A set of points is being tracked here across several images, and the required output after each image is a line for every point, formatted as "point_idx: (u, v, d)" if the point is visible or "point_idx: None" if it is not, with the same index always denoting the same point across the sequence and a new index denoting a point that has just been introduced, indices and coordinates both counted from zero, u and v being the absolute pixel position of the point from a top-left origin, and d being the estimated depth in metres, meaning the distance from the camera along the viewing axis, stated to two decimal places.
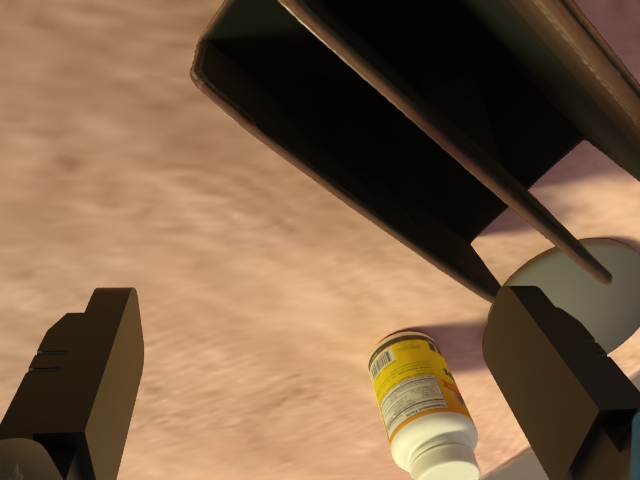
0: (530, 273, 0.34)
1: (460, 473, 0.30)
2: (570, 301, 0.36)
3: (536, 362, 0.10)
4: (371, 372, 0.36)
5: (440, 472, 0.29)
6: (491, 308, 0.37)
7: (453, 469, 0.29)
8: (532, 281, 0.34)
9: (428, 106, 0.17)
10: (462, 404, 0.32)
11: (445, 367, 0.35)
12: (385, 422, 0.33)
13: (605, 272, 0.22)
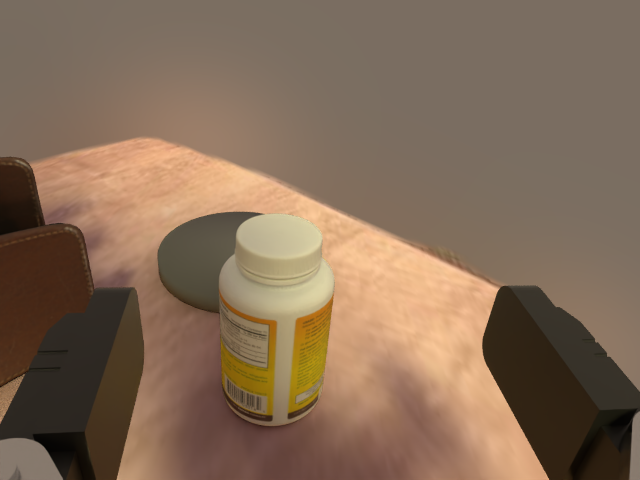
0: (170, 282, 0.34)
1: (265, 225, 0.24)
2: (218, 254, 0.37)
3: (536, 362, 0.10)
4: (261, 408, 0.25)
5: (255, 238, 0.23)
6: (219, 311, 0.33)
7: (253, 229, 0.23)
8: (179, 278, 0.34)
9: None
10: None
11: None
12: (264, 345, 0.23)
13: None
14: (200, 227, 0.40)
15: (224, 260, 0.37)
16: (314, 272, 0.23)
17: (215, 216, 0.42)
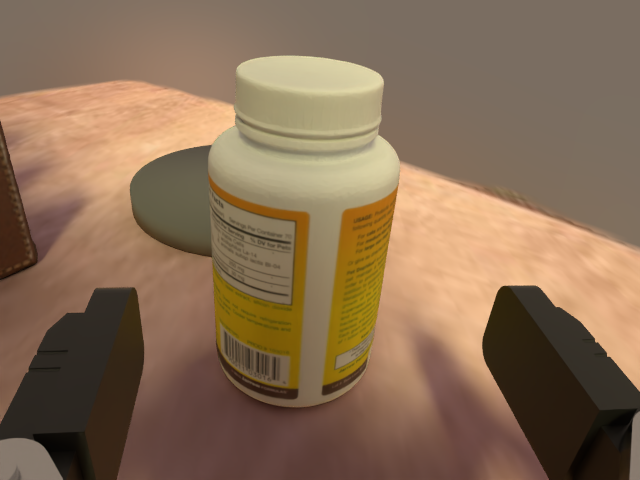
0: (146, 216, 0.25)
1: (285, 64, 0.14)
2: None
3: (536, 362, 0.10)
4: (280, 377, 0.15)
5: (270, 73, 0.13)
6: None
7: (265, 66, 0.14)
8: (157, 211, 0.25)
9: None
10: None
11: None
12: (287, 261, 0.13)
13: None
14: (189, 158, 0.31)
15: None
16: (371, 135, 0.13)
17: (209, 148, 0.32)
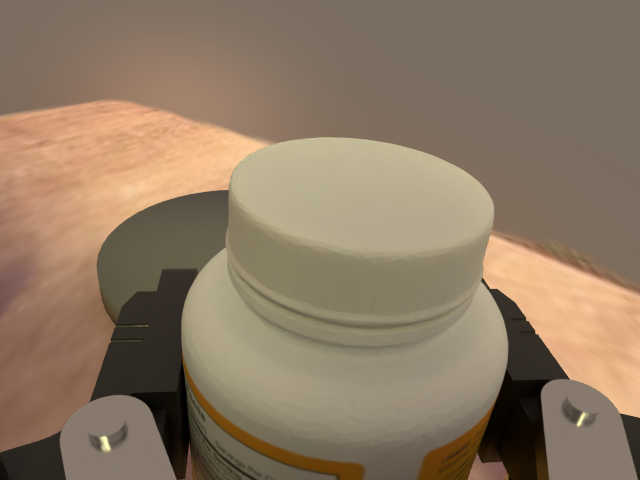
0: (114, 306, 0.19)
1: (316, 161, 0.08)
2: (204, 254, 0.22)
3: None
4: None
5: (291, 192, 0.07)
6: None
7: (280, 170, 0.08)
8: None
9: None
10: None
11: None
12: None
13: None
14: (176, 212, 0.25)
15: None
16: (471, 299, 0.07)
17: (201, 196, 0.27)
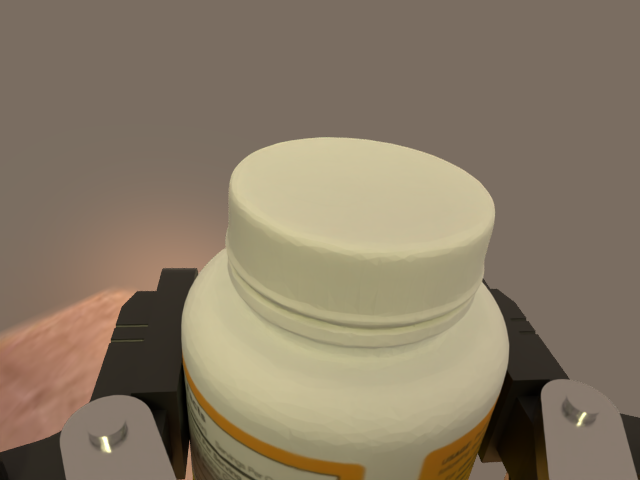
0: None
1: (316, 161, 0.08)
2: None
3: None
4: None
5: (292, 193, 0.07)
6: None
7: (280, 170, 0.08)
8: None
9: None
10: None
11: None
12: None
13: None
14: None
15: None
16: (471, 300, 0.07)
17: None
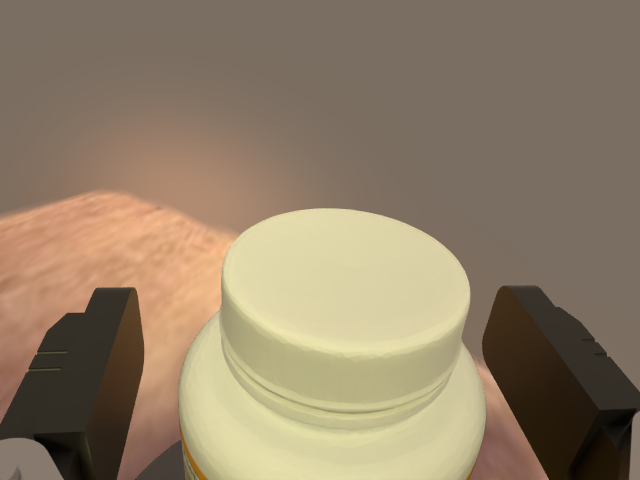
0: None
1: (304, 240, 0.09)
2: None
3: (536, 362, 0.10)
4: None
5: (280, 281, 0.08)
6: None
7: (270, 253, 0.08)
8: None
9: None
10: None
11: None
12: None
13: None
14: None
15: None
16: (448, 376, 0.08)
17: None
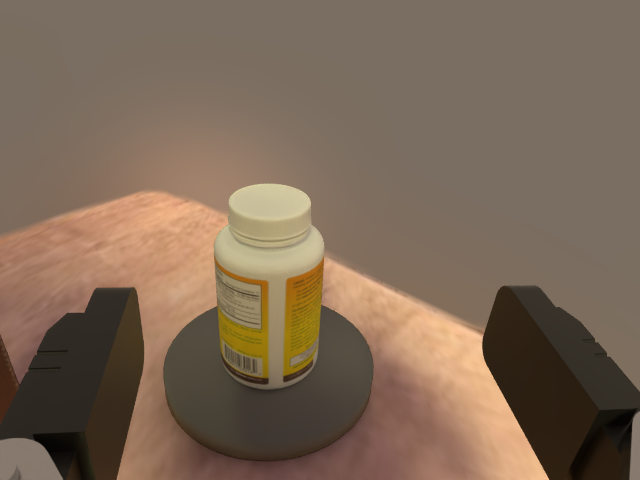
0: (180, 415, 0.26)
1: (257, 193, 0.25)
2: None
3: (536, 362, 0.10)
4: (257, 371, 0.26)
5: (246, 203, 0.24)
6: (246, 457, 0.25)
7: (244, 197, 0.24)
8: (191, 409, 0.26)
9: None
10: None
11: None
12: (257, 306, 0.24)
13: None
14: (217, 323, 0.32)
15: None
16: (303, 235, 0.24)
17: None
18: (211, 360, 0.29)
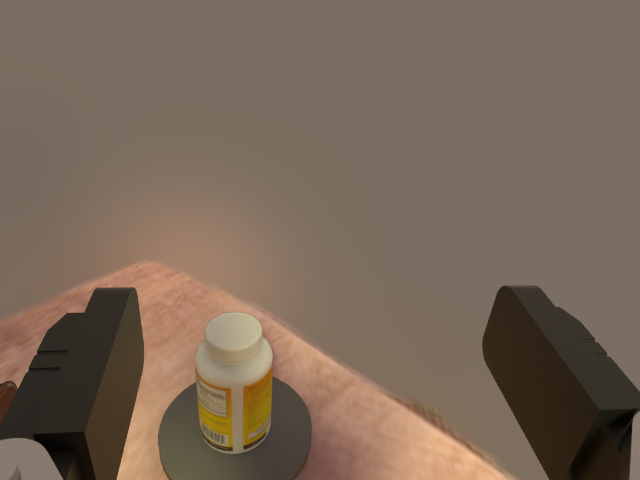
0: (170, 473, 0.37)
1: (225, 322, 0.36)
2: None
3: (536, 362, 0.10)
4: (225, 442, 0.37)
5: (217, 334, 0.35)
6: None
7: (216, 327, 0.35)
8: (178, 469, 0.37)
9: None
10: None
11: None
12: (224, 403, 0.35)
13: None
14: None
15: None
16: (256, 355, 0.35)
17: None
18: (193, 428, 0.40)
